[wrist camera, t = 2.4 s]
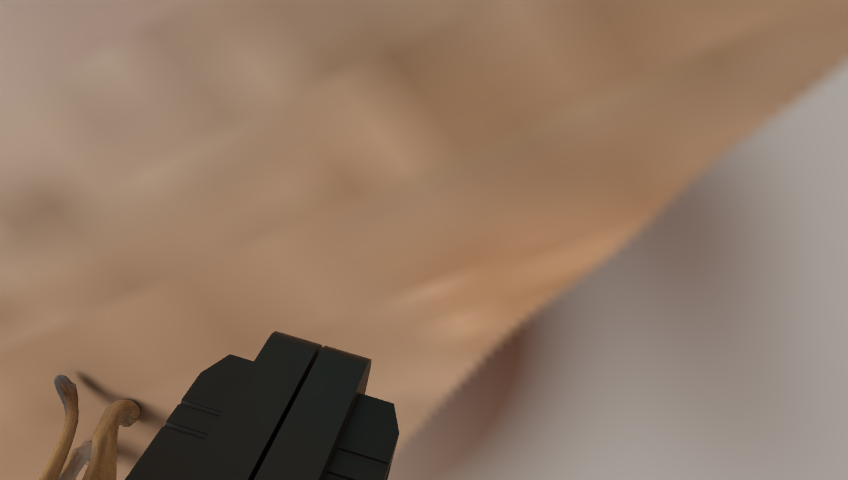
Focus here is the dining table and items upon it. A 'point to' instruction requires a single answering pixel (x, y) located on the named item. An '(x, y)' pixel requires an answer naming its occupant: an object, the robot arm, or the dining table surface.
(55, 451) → the lion figurine
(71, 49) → the dining table surface
